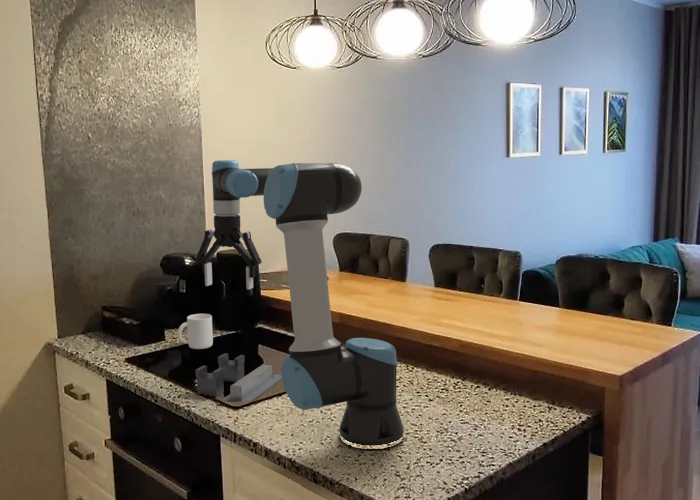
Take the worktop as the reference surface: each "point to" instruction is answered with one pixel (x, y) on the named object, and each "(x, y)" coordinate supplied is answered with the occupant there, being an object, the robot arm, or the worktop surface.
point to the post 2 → (232, 367)
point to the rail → (251, 382)
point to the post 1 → (210, 381)
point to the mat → (260, 390)
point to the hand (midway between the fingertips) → (229, 286)
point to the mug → (198, 331)
